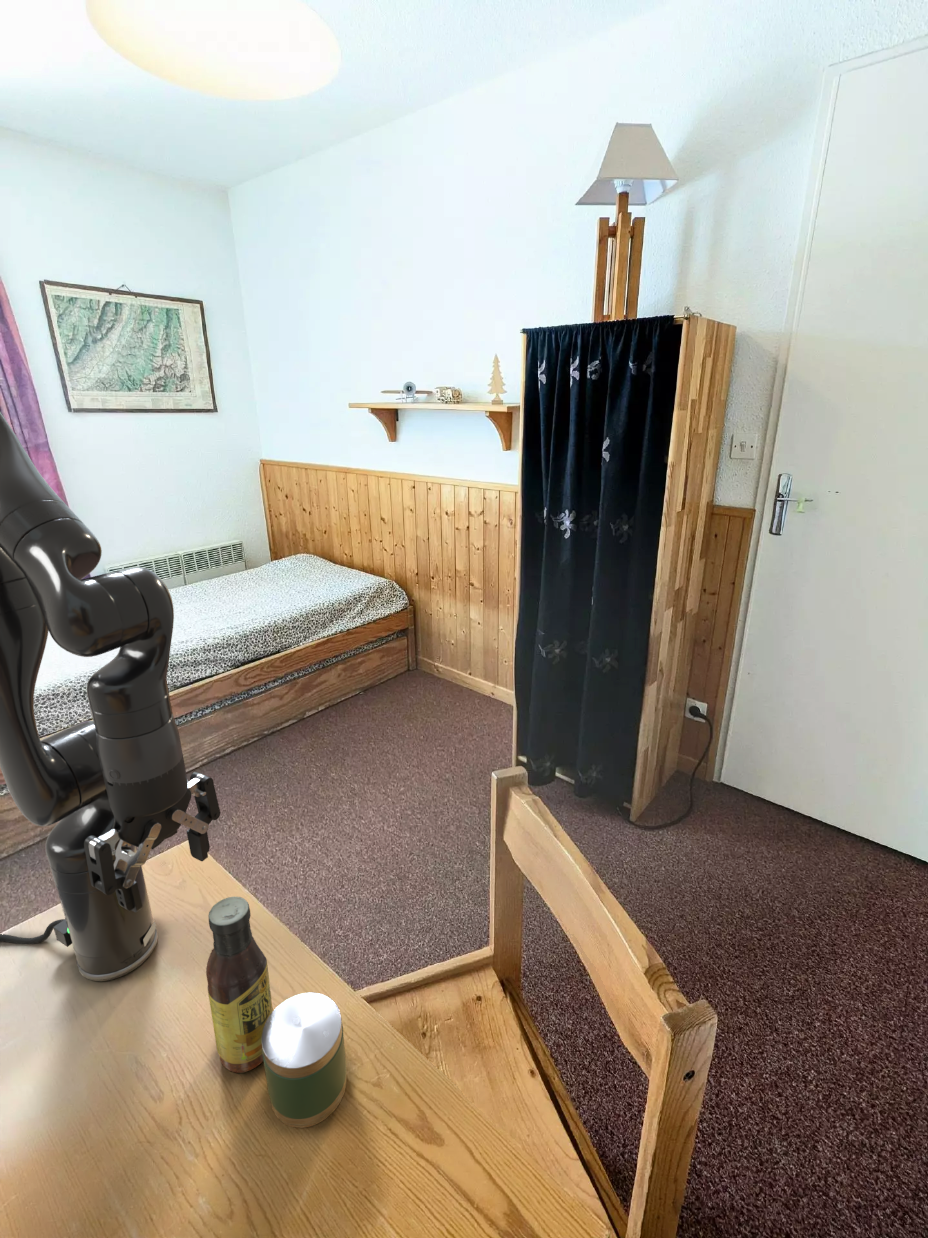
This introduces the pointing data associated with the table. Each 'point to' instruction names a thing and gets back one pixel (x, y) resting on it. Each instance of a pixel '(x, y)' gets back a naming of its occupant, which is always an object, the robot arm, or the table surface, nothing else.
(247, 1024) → the sauce bottle
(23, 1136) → the table surface
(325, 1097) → the tin can
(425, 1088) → the table surface
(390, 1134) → the table surface
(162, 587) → the robot arm
